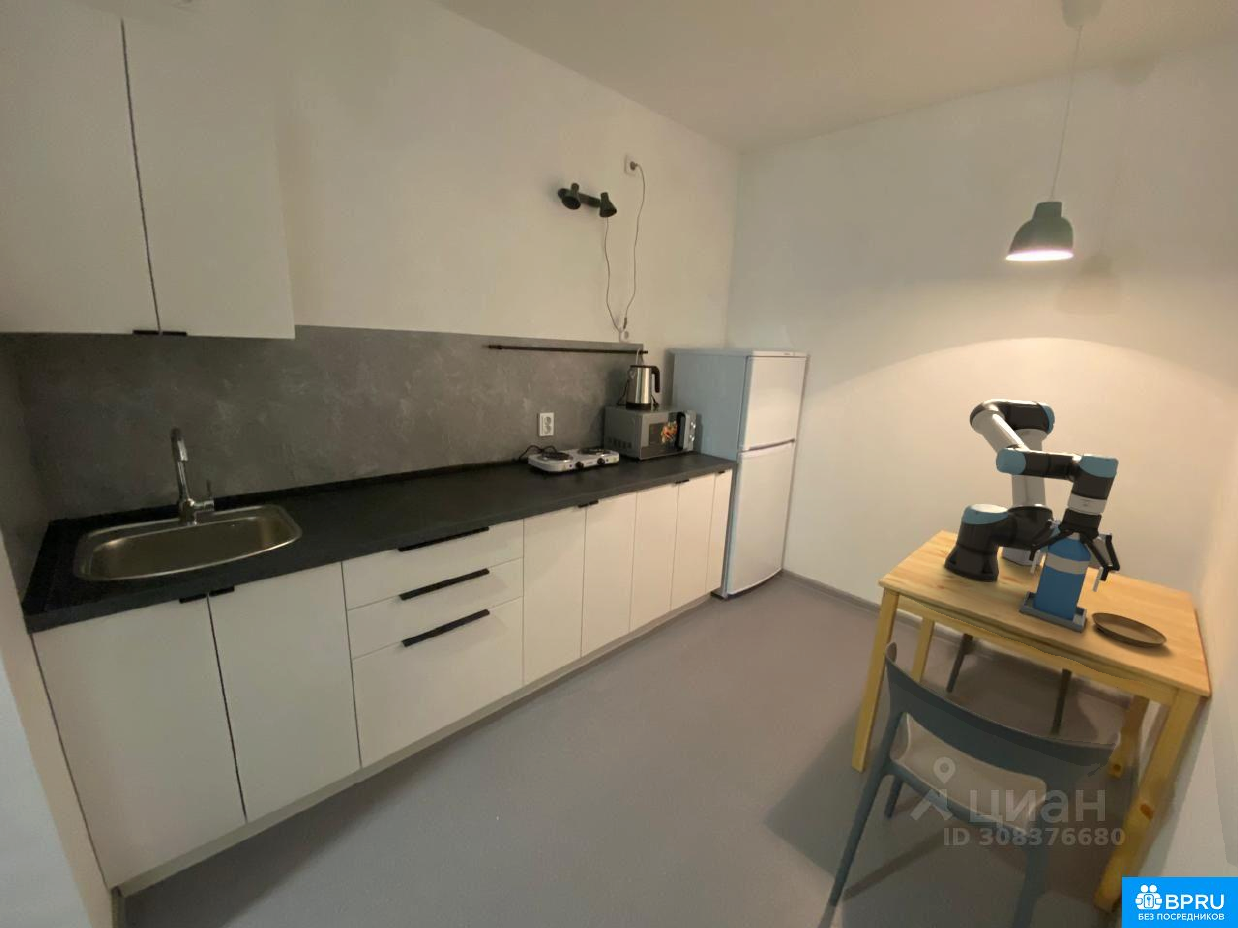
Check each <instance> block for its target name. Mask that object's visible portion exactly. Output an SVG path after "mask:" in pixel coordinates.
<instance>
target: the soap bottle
mask: <svg viewBox="0 0 1238 928" xmlns="http://www.w3.org/2000/svg"><path fill="white" fill-rule="evenodd" d="M1030 553H1031V551H1025V550H1018V549H1012V548H1005V547H1002V550H1001V557H1003V558H1005V559H1007V560H1009V561H1012V562H1014V563H1015V564H1018V565H1020V566H1032V564H1033V561H1030V560H1029V556H1030ZM1044 554H1045V553H1040V554H1039V558H1038V561H1037V564H1036V566H1038V565H1040V564H1041V563H1042V560H1043V557H1044Z"/></svg>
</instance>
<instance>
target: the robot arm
mask: <svg viewBox="0 0 1238 928" xmlns="http://www.w3.org/2000/svg"><path fill="white" fill-rule="evenodd" d="M1055 416H1056V415H1055V412H1054V411H1053V408H1052V407H1051V406H1050V405H1049V404H1048V403H1047V404H1046V403H1044V402H1038V401H1033V400H1032V401H1031V400H1030V401H1023V400H1011V399H1002V398H1001V399H1000V398H997V399H996V398H994V399H989V400H986V401H983V402H981V403H979V404H978V405H976V406H975V407H974V408H973V409H972V411H971V412H970V415H969V424H970V427H971V429H973V431H974V432H975V433H977V434H979V435H982V437H983V438H984V440H986V442H987V443H988V444H989V446H991V448H992V449H993V451H995V453H996V458H995V465H996V470H997V471H998V472H1000V473H1002V474H1009V475H1011V476H1010V477H1011V496H1012V506H1010V507H1009V508H1006V507H1003V506H1000V505H994V504H989V503H977V504H976V503H975V504H971V505H968V506H966V507H965V509H964V511H963V514H962V516H961V521H960V525H959V529H958V533H957V537H956V538H957V539H956V542H955V545H954V547H952V549H951V551H950V552H949V553H948V555H947V556H946V558H945V561H944V567H945V568H946V569H948V570H949V571H951V572H952V573H953V574H956V575H958V576H961V577H964V578H967V579H969V580H970V579H971V580H976V581H981V582H994V581H997V580H998V578H999V575H1000V569H999V568H1000V567H999V563H998V562H999V561H998V553H999V549H1000V548H1003V547H1005V548H1012V549H1018V550H1025V551H1031V553H1030V556H1029V560H1030V561H1033V564H1032V565H1031V568H1030V571H1029V574H1030V573H1031V574H1034V573H1035V571H1036V567H1037V565H1036V564H1037V561H1038V558H1039V554H1040V553H1044V554H1046V553H1047V549H1048V545H1050V544H1052V543H1054V542H1056V541H1058V540H1061V539H1063V538H1065V537H1067V536H1070V535H1072V534H1073V533H1074V532H1077V533H1081V534H1080V542H1081V543H1082V544H1085V545H1086V547H1087V549H1089V551H1091V553H1092V554H1093V556H1094V557H1095V559H1096V560H1097V562H1099V565H1100V566H1099V570H1098V572H1097V574H1096V578H1095V581H1094V583H1093V587H1092V592H1094V593H1096V592H1097V591H1098V588H1099V585H1100V581H1102V582H1106V581H1107V579H1108V576H1109V573H1110V572H1111V571H1115V572H1119V571H1120V570H1121V565H1120V562H1119V558H1118V557H1117V553H1116V551H1115V548H1114V544H1113V542H1112V541H1113V534H1112V533H1111V532H1107V533H1106V532H1100V531H1099V527H1100V525H1101V524H1100V523H1101V521H1102V518H1103V515H1102V514H1104V512H1105V509H1106V505H1107V502H1108V499H1109V496H1110V492H1111V491H1112V487H1113V484H1114V481H1115V478H1116V476H1117V473H1118V467H1119V460H1118V459H1117V458H1116V457H1113V456H1108V455H1104V454H1096V453H1084V454H1083V455H1080V454H1078V453H1072V452H1061V453H1059V452H1058V453H1057V452H1047V451H1043V441H1044V440H1046V439H1047V438H1048V435H1050V434H1051V433H1052V431H1053V430H1054V427H1055V426H1054V424H1055V421H1056V418H1055ZM1045 479H1051V480H1059V481H1068V482H1071V483H1072V486H1071V489H1070V493H1069V496H1068V499H1067V504H1066V506H1067V507H1066V508H1065V509H1064V513H1063V517H1062V519H1061V520H1060V519H1059V518H1056V517H1054V514H1053V513H1054V511H1053V510H1052V508H1050V507H1048V506H1047V501H1046V487H1045V485H1046V484H1045V483H1046V482H1045ZM1066 530H1068V531H1066ZM1097 538H1100V539H1101V541H1102V542H1104V544H1105V548H1106V552H1107V554H1108V557H1109V559H1110V561H1111V562H1110V563H1111V564H1109V561H1108V560H1107V559H1106V558H1105V556H1104V555H1103V553H1102V552H1101V551H1100V549H1099V547H1098V546H1097V545H1096V542H1094V540H1095V539H1097Z"/></svg>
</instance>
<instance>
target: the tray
mask: <svg viewBox="0 0 1238 928" xmlns="http://www.w3.org/2000/svg"><path fill="white" fill-rule="evenodd" d="M1035 594H1036V592H1034V591H1029V590H1028V591H1027V592H1026V594H1025V596H1024V599H1022V600H1023V601H1022V602H1021V604H1020V606H1019V610H1018V612H1019V613H1021V614H1024V615H1027V616H1030V617H1032V618H1035V619H1038V620H1041V621H1044V622H1047V623H1049V624H1053V625H1055V626H1057V627H1061V628H1065V629H1068V630H1071V631H1072V632H1076V633H1079V634H1081V633H1082V631H1083V629H1084V625H1085V622H1086V617H1087V613H1088V609H1087V608H1084V607H1080V606H1078V605H1077V608H1076V611H1075V615H1074V618H1073V619H1071V620H1066V619H1063V618H1060V617H1057V616H1054V615H1051V614H1048V613H1045V612H1042V611H1039V610H1036V609H1034V607H1033V602H1034V598H1035Z"/></svg>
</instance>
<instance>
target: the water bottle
mask: <svg viewBox="0 0 1238 928" xmlns="http://www.w3.org/2000/svg"><path fill="white" fill-rule="evenodd" d="M1066 531H1068V530H1066ZM1080 534H1081V533H1077V532H1074V533H1073V534H1072V535H1070V536H1067V537H1065V538H1063V539H1061V540H1058V541H1056V542H1054V543H1052V544H1050V545H1048V549H1047V553H1045V557H1044V560H1043V565H1042V568H1041V573H1040V576H1039V579H1038V584H1037V587H1036V591H1035V593H1036V594H1035V598H1034V602H1033V607H1034V609H1036V610H1039V611H1042V612H1045V613H1048V614H1051V615H1054V616H1057V617H1060V618H1063V619H1066V620H1071V619H1073V618H1074V615H1075V611H1076V608H1077V606H1078V603H1079V600H1080V597H1081V593H1082V589H1083V586H1084V582H1085V579H1086V575H1087V572H1088V568H1089V565H1090V561H1091V558H1092V554H1091V552H1090V549H1089V548H1088V546H1087V545H1086V544H1082V543H1081V542H1080Z"/></svg>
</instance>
